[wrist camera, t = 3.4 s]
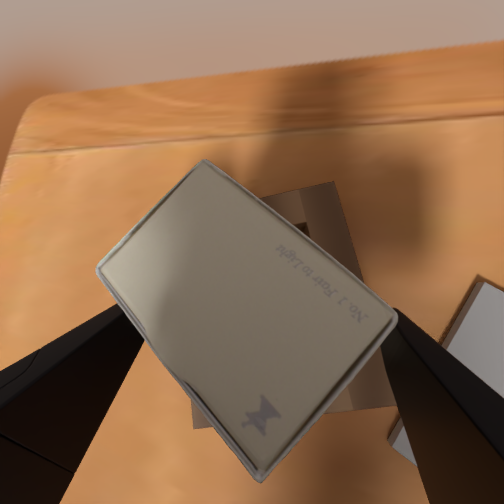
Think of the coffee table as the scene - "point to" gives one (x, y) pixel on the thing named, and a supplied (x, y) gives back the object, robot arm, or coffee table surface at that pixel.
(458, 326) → the slate mat
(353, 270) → the walnut holder
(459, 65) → the coffee table surface
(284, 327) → the skincare box
